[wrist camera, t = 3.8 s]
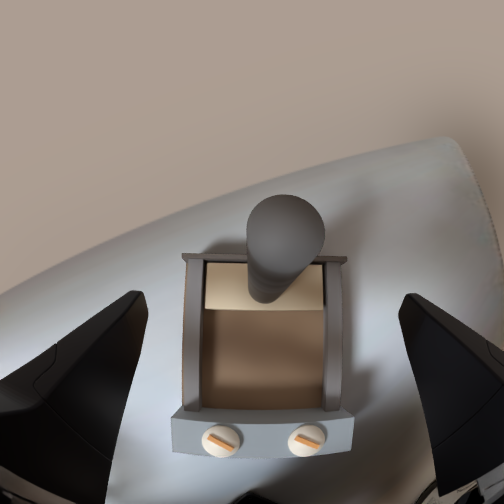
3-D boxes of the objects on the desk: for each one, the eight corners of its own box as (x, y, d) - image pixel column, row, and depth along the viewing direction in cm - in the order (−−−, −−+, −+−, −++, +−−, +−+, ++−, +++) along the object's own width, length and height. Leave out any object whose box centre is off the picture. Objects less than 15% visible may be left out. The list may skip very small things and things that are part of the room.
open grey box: (333, 431, 17) (343, 442, 14) (186, 431, 17) (178, 443, 14) (336, 265, 20) (347, 256, 18) (189, 262, 20) (181, 253, 18)
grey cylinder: (319, 310, 18) (410, 282, 7) (207, 309, 18) (146, 279, 7) (318, 268, 19) (396, 192, 8) (209, 266, 19) (160, 182, 8)
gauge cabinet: (333, 431, 17) (353, 453, 12) (186, 431, 17) (170, 455, 12) (335, 402, 17) (357, 419, 13) (185, 401, 17) (168, 420, 13)
